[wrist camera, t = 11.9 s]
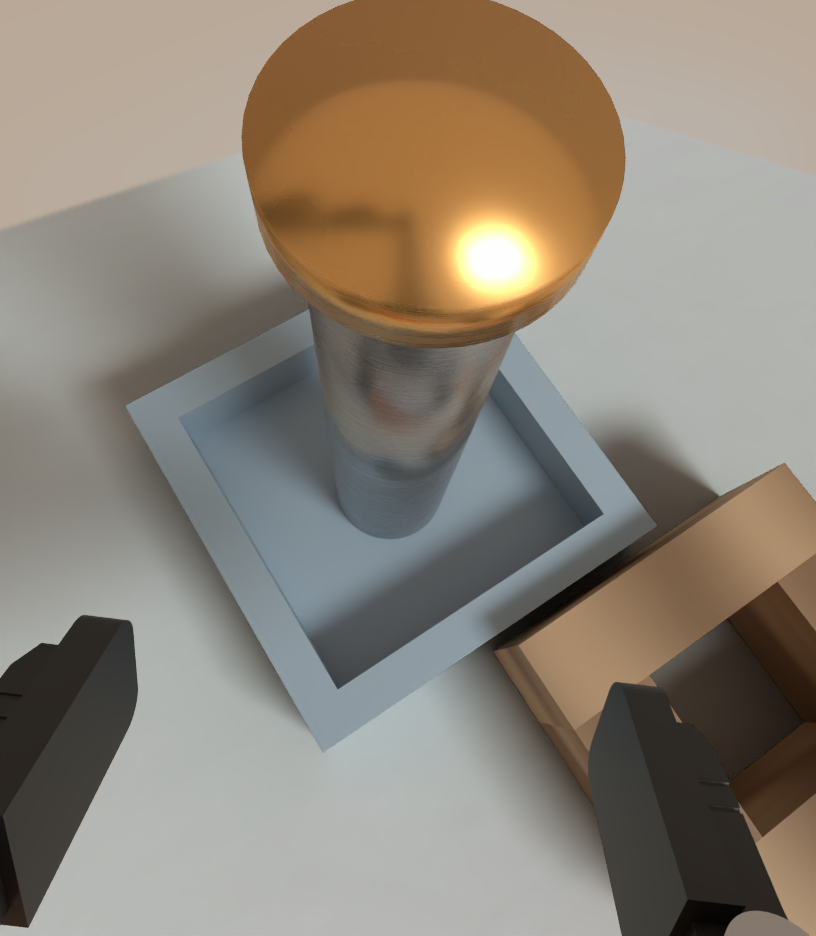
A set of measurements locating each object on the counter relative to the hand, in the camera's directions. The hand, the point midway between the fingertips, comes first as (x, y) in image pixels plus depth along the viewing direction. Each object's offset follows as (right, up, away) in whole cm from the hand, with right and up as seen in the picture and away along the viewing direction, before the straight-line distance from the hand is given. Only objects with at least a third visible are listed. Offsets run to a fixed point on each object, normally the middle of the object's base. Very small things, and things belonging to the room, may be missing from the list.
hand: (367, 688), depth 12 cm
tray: (0, +3, +13) cm, 13 cm away
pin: (0, +3, +12) cm, 12 cm away
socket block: (+10, -4, +11) cm, 16 cm away
